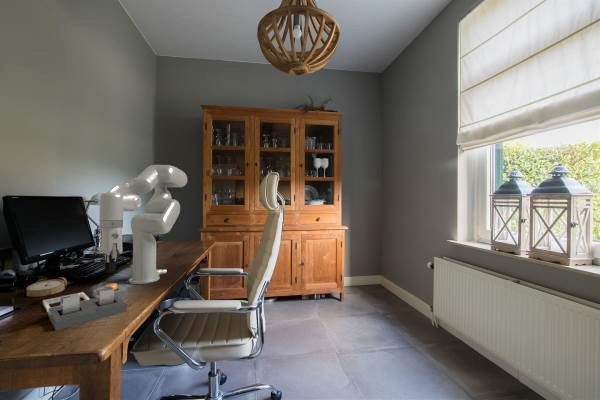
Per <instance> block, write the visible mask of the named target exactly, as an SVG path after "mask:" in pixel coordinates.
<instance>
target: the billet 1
mask: <svg viewBox="0 0 600 400" xmlns="http://www.w3.org/2000/svg"><path fill="white" fill-rule="evenodd" d="M60 297H61V302H60V306H61V316H62V315H66V314H70V313H74V312H78V311H80V301H81V298H80V296H79V295H78V294H77V293H72V294H67V295H61V296H60Z"/></svg>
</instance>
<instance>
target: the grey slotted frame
mask: <svg viewBox="0 0 600 400" xmlns="http://www.w3.org/2000/svg"><path fill="white" fill-rule="evenodd" d="M127 309H128V304H127V303H126V302H125V301H124V300H122V298H118V297H117V296H116V295H115V294H114V303H111V304H107V305H103V306H99V307H98V306H97V305H96V298H94V297H93V298H89V300H85V301H84V300H80V311H78V312H74V313H70V314H66V315H62V316H61V305H57V306H53V308H52V307H50V308H49V312H48V319H49V320H50V322H51V324H52V326H53V328H54V330H55V331H59V330H64V329H67V328H71V327H74V326H78V325H82V324H85V323H86V324H87V323H89V322H93V321H96V320H101V319H105V318H108V317H111V316H115V315H118V314H122V313H126V312H127V311H128V310H127Z"/></svg>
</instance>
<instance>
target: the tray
mask: <svg viewBox="0 0 600 400" xmlns="http://www.w3.org/2000/svg"><path fill="white" fill-rule="evenodd" d="M77 294H78V295H79V296H80V299H81V298H82V299H84V300H83V301H85V300H89V299H90V297H89V296H88V295H87V294H86V293H85V292H84V291H82V292H78V293H77ZM56 303H61V296H58V297H53V298H48V299H42V305H43V307H44V309H45V310H46V312H47V313H49V308H53V307H54V306H53V307H51V306H50V305H53V304H56Z"/></svg>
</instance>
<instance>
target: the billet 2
mask: <svg viewBox="0 0 600 400" xmlns="http://www.w3.org/2000/svg"><path fill="white" fill-rule="evenodd" d="M96 290H97V297H96V305H97V306H98V307H99V306H103V305H107V304H111V303H114V289H113V288H112V287H105V286H104V287H102V288H101V287H99V288H96Z"/></svg>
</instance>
